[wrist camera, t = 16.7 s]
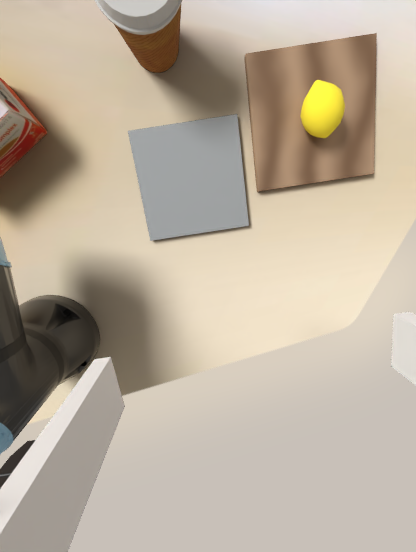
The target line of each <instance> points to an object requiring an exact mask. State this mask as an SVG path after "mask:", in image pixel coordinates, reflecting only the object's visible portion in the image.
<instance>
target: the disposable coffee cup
mask: <svg viewBox="0 0 416 552" xmlns="http://www.w3.org/2000/svg"><path fill="white" fill-rule="evenodd" d="M95 2H96V4H97V5H98V7H99V8H100V10H101V11H102V12H103V14H104V15H105V16H106V17H107V18H108V19H109V20H110V21H111V22H113V23H114V25H115V26H116V28H117V29H118V31H119V32H120V34H121V36H122V37H123V39H124V40H125V42H126V44H127V45H128V47H129V48H130V49H131V51H132V53H133V54H134V56H135V57H136V58H137V60H138V62H139V63H140V64H141V66H143V67H144V68H145V69H147V70H148V71H151V72H164V71H166V70H168V69H169V68H170V67H171V66H172V65H173V64H174V62H175V61H176V59H177V56H178V51H179V33H180V15H181V2H182V0H95Z"/></svg>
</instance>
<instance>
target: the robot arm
mask: <svg viewBox="0 0 416 552" xmlns="http://www.w3.org/2000/svg"><path fill="white" fill-rule="evenodd" d="M10 267H12V266H11V263H10V262H8V260H7V257H6V253H5V250H4V247H3V243H2V240H1V238H0V454H1V453H2V452H3V451H5V450H6V449H7V448H9V447H10V445H11V444H12V443H13V441H14V439H15V438H16V437H17V436H18V435H19V433H20V432H21V431H22V429H23V428H24V427H25V426H26V425H27V423H28V422H29V421H30V420H31V418H32V417H33V416H34V415H35V413H36V412H37V411H38V410H39V408H40V407H41V406H42V405H43V403H44V402H45V401H46V400H47V398H48V397H49V396H50V395H51V393H52V392H53V391H54V389H55V388H56V387H57V386H58V385H59V384H61V383H63V382H65V381H66V380H68V379H70V378H71V377H73V376H75V375H77V374H78V373H80V372H81V371H82V370H84V369H85V368H86V367H87V366H88V364H89V363H90V362H91V360H92V359H93V358H94V356H95V355H96V353H97V350H98V347H99V341H100V337H99V330H98V327H97V324H96V322H95V320H94V319H93V317H92V316H91V314H90V313H89V312H88V311H87V310H86V309H85V308H84V307H82V306H81V305H80V304H78V303H77V302H75V301H73V300H71V299H68V298H65V297H62V296H56V295H44V296H39V297H36V298H33V299H31V300H29V301H27V302H25V303H23V304H21V305H20V306H19V305H18V300H17V296H16V291H15V287H14V282H13V278H12V274H11V269H10ZM391 367H393V368H394V369H395V370H396V371H398V372H399V373H400V374H401V375H403V376H404V377H405V378H406V379H408V380H409V381H410V382H411V383H413V384H414V385H415V386H416V314H414V313H412V312H405V313H399V314H394V316H393V339H392V362H391ZM124 407H125V406H124V402H123V398H122V395H121V391H120V388H119V384H118V381H117V377H116V373H115V370H114V366H113V363H112V359H111V357H106V358H99V359H94V361H93V362H92V363H91V365H90V366H89V367H88V369H87V370H86V372H85V373H84V374H83V376H82V377H81V378H80V380H79V381H78V383H77V384H76V385H75V387H74V388H73V390H72V391H71V392H70V394H69V395H68V396H67V398H66V399H65V401H64V402H63V403H62V405H61V406H60V407H59V409H58V410H57V412H56V413H55V414H54V416H53V417H52V418H51V420H50V421H49V423H48V424H47V425H46V427H45V428H44V429H43V431H42V432H41V434H40V435H39V436H38V438H37V439H36V440H33V441H27V442H26V443H25V444H24V445H23V446H22V447H20V448H19V449H18V450H17V451H16V452H15V453H14V454H13V455H11V456H10V458H9V459H8V460H7V461H6V463H5V464H4V465H3V466H2V468H1V469H0V552H68V549H69V547H70V544H71V542H72V539H73V536H74V534H75V532H76V529H77V526H78V524H79V521H80V519H81V516H82V514H83V511H84V509H85V506H86V504H87V501H88V498H89V496H90V493H91V491H92V488H93V486H94V483H95V481H96V478H97V475H98V473H99V470H100V468H101V465H102V463H103V460H104V458H105V455H106V453H107V450H108V447H109V445H110V442H111V440H112V437H113V435H114V432H115V430H116V427H117V425H118V422H119V419H120V417H121V414H122V412H123V409H124Z"/></svg>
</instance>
